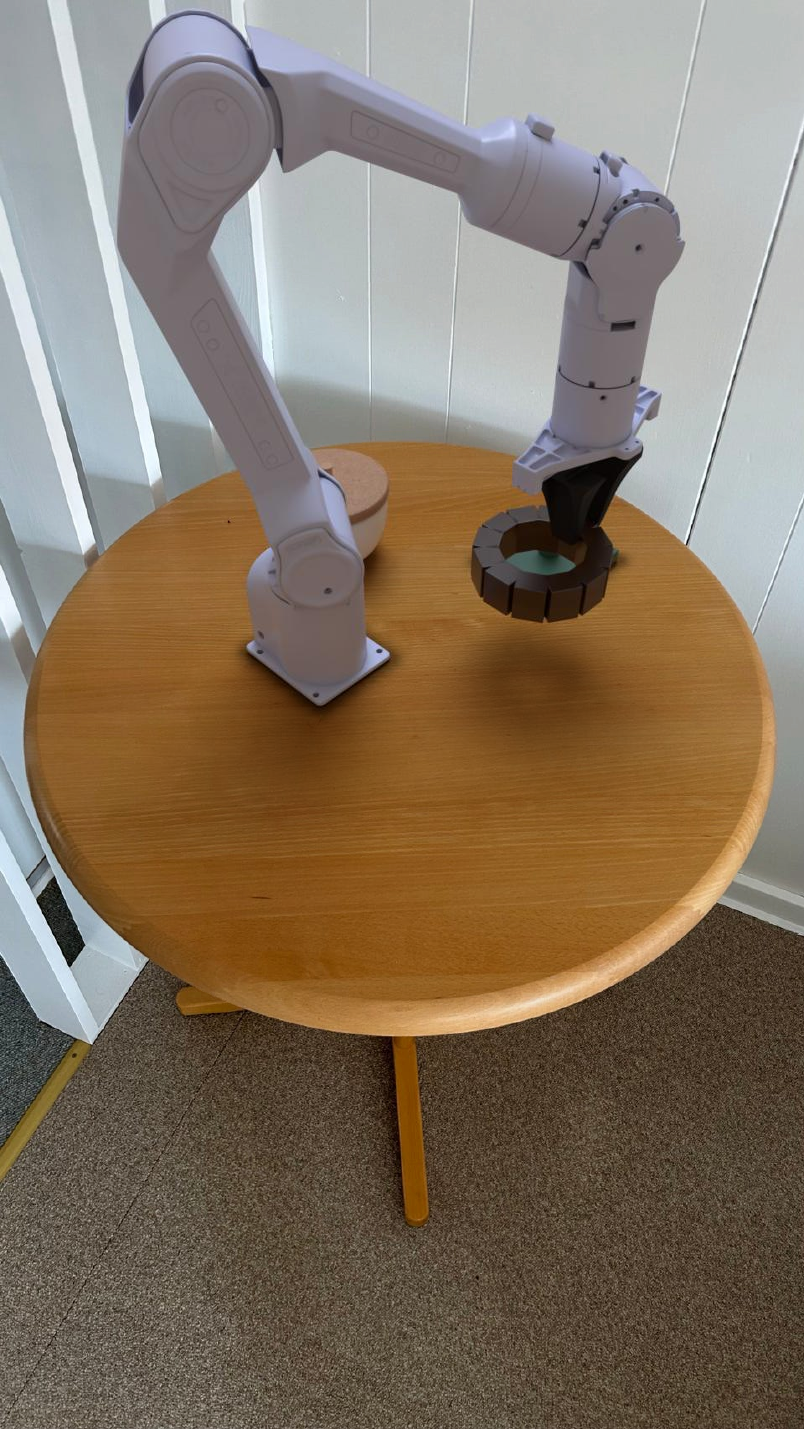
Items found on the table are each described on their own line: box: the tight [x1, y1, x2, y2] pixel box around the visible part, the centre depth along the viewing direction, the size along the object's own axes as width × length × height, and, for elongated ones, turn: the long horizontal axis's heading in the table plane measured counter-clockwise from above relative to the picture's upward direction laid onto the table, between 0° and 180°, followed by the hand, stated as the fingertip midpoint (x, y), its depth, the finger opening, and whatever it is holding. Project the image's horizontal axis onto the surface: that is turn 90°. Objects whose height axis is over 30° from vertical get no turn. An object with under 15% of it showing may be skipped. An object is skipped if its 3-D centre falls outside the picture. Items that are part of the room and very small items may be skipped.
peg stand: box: [506, 504, 620, 575], centre depth 87 cm, size 9×9×6 cm
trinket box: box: [311, 448, 390, 560], centre depth 86 cm, size 11×11×9 cm
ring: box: [470, 504, 615, 624], centre depth 74 cm, size 10×10×3 cm
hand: (575, 531), depth 76 cm, fingers closed on ring, 2 cm apart
